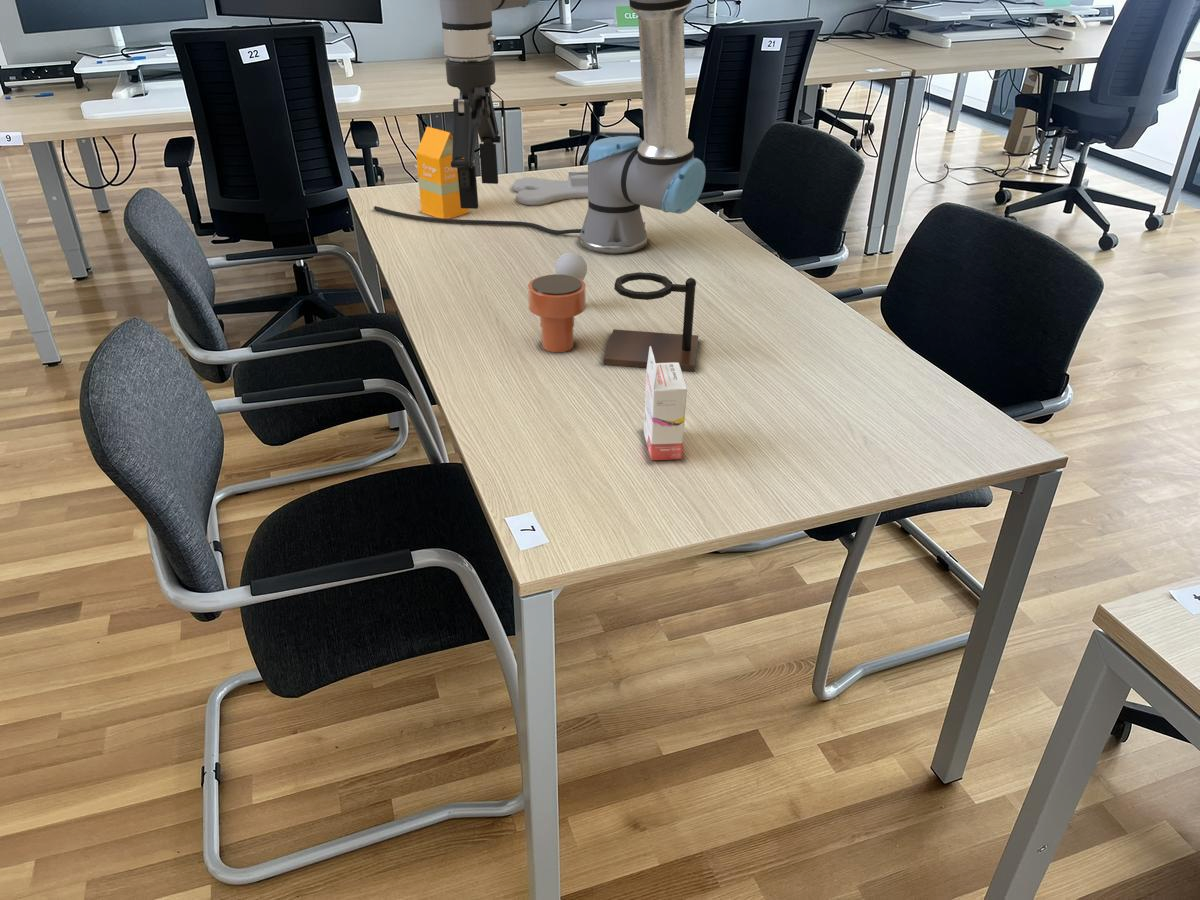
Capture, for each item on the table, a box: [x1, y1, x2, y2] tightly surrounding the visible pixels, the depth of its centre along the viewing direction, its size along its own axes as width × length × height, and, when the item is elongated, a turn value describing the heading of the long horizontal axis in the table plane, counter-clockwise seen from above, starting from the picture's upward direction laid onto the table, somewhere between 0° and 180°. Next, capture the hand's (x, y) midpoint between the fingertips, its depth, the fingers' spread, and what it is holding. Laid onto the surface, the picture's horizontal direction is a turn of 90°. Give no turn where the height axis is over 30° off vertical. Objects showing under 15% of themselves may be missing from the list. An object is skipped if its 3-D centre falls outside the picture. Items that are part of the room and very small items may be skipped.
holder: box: [512, 170, 588, 206], centre depth 240 cm, size 19×34×5 cm, turn 100°
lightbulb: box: [554, 251, 588, 281], centre depth 176 cm, size 6×6×11 cm
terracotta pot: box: [527, 273, 587, 353], centre depth 162 cm, size 10×10×12 cm
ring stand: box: [613, 271, 697, 351], centre depth 159 cm, size 14×10×13 cm
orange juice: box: [415, 125, 469, 219], centre depth 221 cm, size 8×9×20 cm
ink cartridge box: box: [643, 346, 688, 461], centre depth 133 cm, size 9×5×15 cm, turn 5°
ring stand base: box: [603, 329, 700, 372], centre depth 162 cm, size 16×12×1 cm
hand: (480, 195), depth 152 cm, fingers open, 13 cm apart
